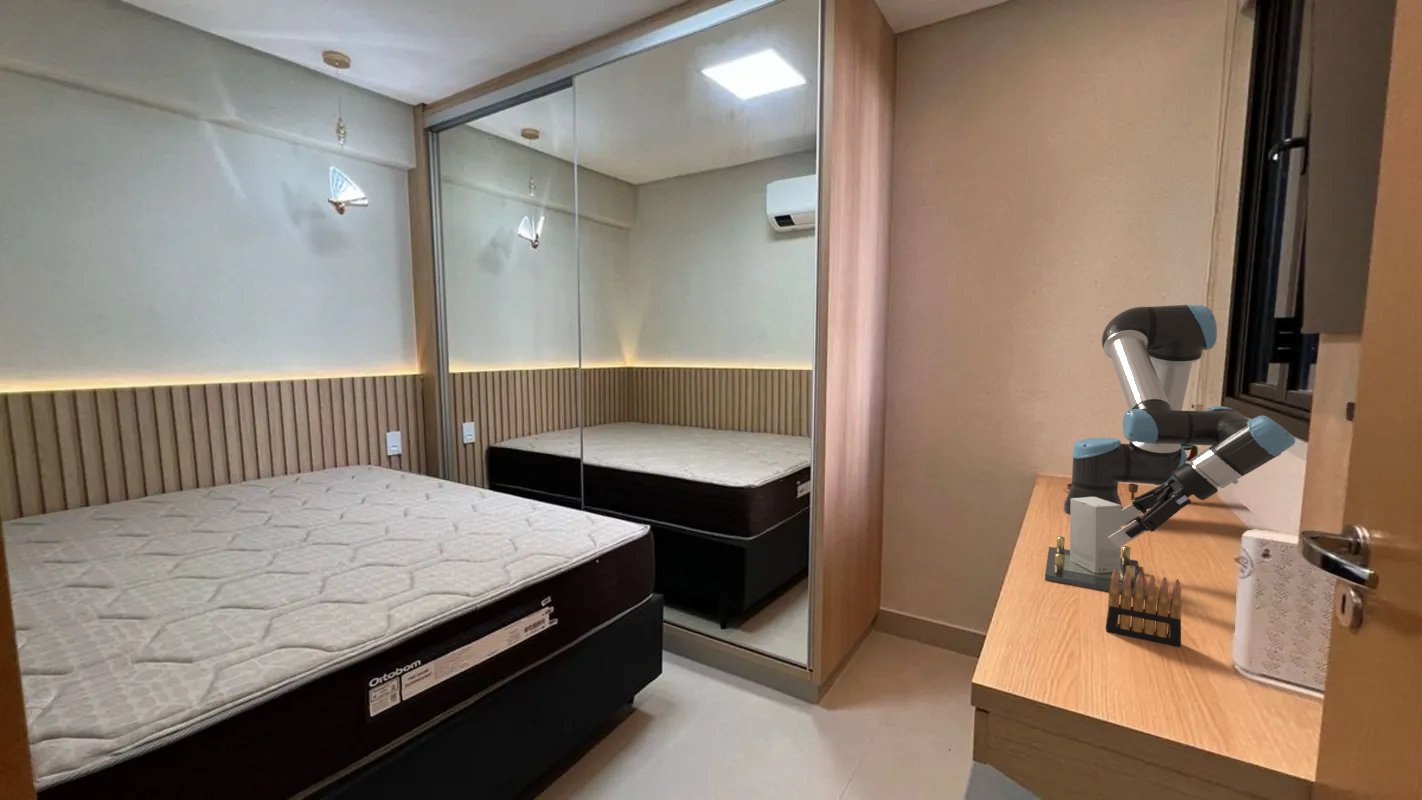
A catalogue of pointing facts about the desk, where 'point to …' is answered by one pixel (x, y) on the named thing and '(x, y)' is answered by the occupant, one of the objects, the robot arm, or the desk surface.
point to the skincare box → (1094, 534)
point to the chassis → (1075, 574)
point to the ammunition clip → (1145, 611)
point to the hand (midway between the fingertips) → (1111, 533)
